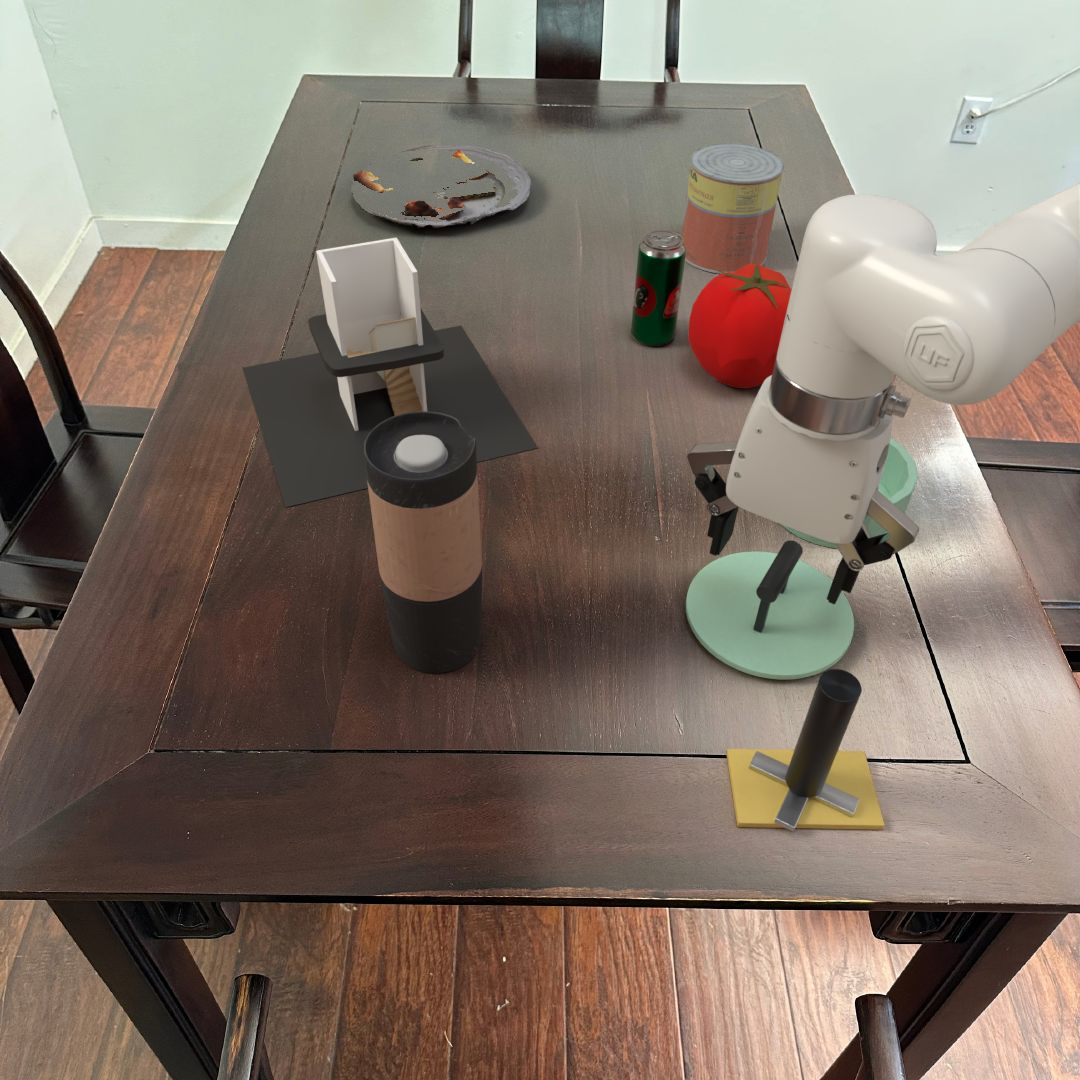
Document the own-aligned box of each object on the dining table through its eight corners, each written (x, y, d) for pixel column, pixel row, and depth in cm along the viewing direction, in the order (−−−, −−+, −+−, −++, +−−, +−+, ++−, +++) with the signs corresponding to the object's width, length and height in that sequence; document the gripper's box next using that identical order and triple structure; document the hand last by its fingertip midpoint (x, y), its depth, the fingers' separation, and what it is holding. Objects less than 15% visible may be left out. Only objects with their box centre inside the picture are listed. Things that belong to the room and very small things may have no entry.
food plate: (393, 252, 124) (390, 226, 122) (327, 184, 139) (323, 159, 136) (559, 211, 134) (560, 186, 131) (481, 151, 148) (480, 127, 146)
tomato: (673, 394, 103) (686, 297, 95) (692, 329, 112) (706, 236, 104) (789, 413, 100) (812, 316, 92) (799, 346, 110) (821, 252, 102)
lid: (871, 598, 82) (892, 543, 77) (819, 711, 73) (838, 656, 69) (722, 540, 87) (734, 485, 82) (657, 639, 78) (665, 584, 74)
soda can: (669, 351, 109) (682, 253, 100) (626, 344, 110) (635, 245, 101) (678, 329, 112) (691, 231, 104) (636, 321, 113) (645, 224, 105)
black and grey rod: (871, 769, 69) (917, 668, 61) (837, 854, 64) (883, 756, 56) (771, 723, 72) (802, 621, 64) (731, 801, 67) (760, 701, 59)
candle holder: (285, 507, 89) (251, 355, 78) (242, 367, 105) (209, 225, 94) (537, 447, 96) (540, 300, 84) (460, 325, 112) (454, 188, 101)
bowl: (917, 487, 92) (933, 446, 89) (879, 569, 84) (894, 527, 81) (792, 444, 97) (802, 403, 93) (744, 517, 89) (753, 476, 85)
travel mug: (376, 667, 76) (344, 471, 62) (407, 597, 81) (383, 402, 67) (470, 684, 75) (459, 489, 61) (495, 612, 80) (490, 418, 66)
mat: (862, 755, 70) (864, 750, 70) (882, 830, 66) (885, 825, 66) (726, 752, 70) (727, 748, 70) (737, 827, 66) (738, 822, 66)
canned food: (697, 225, 131) (710, 136, 123) (778, 245, 127) (796, 154, 119) (666, 261, 124) (676, 168, 115) (749, 282, 120) (766, 189, 112)
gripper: (973, 402, 63) (899, 580, 75) (728, 325, 69) (696, 501, 81) (944, 464, 59) (870, 644, 71) (685, 376, 65) (657, 555, 77)
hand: (777, 567), depth 76 cm, fingers open, 9 cm apart
